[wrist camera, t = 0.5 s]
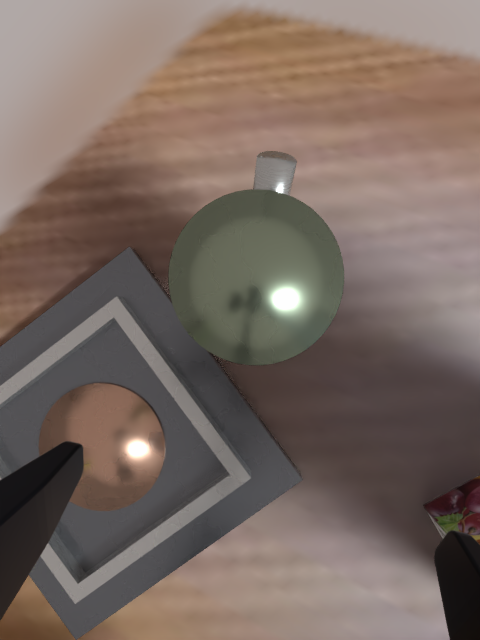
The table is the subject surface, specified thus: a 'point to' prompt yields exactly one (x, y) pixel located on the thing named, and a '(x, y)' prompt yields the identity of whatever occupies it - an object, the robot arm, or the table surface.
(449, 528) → the juice carton
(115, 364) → the port plate
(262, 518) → the table surface
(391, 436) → the table surface
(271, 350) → the spout can
